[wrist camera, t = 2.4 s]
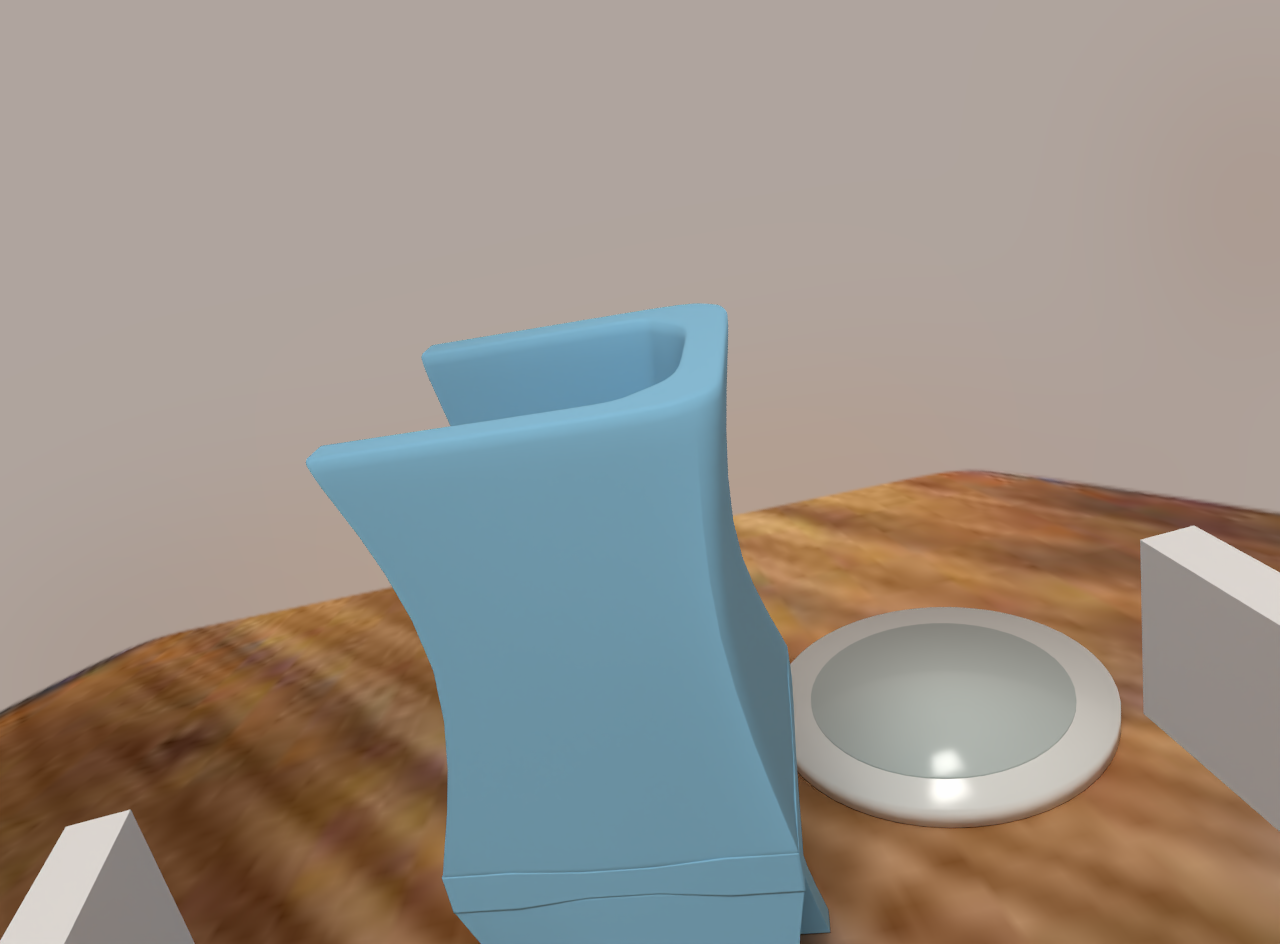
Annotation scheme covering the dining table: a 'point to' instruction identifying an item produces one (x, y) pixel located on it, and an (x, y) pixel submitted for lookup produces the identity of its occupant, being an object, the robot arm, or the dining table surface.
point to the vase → (592, 637)
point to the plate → (952, 717)
